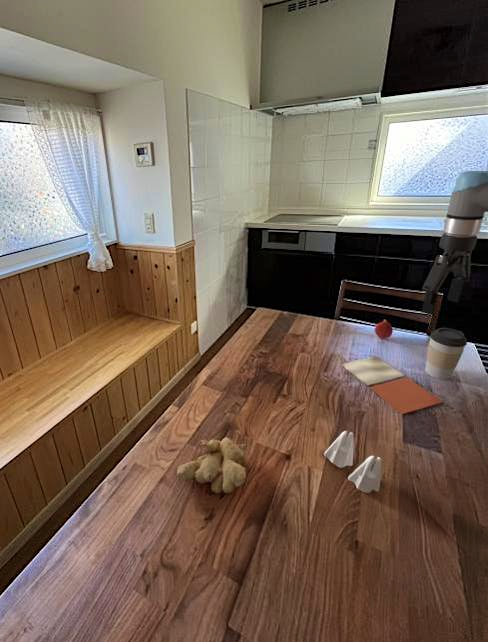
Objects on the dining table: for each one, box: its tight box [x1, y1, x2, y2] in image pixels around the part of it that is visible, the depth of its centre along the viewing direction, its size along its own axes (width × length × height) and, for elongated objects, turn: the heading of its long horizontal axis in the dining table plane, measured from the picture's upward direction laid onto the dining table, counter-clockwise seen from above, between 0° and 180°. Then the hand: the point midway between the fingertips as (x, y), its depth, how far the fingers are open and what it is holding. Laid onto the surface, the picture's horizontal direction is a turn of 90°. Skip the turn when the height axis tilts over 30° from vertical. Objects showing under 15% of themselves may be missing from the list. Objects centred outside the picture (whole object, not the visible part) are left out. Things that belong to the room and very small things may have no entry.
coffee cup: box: [424, 327, 468, 381], centre depth 104 cm, size 9×9×15 cm
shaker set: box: [323, 430, 383, 494], centre depth 74 cm, size 12×4×11 cm, turn 30°
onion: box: [374, 319, 394, 340], centre depth 126 cm, size 6×6×8 cm
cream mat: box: [341, 355, 406, 387], centre depth 110 cm, size 12×14×1 cm
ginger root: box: [176, 437, 248, 494], centre depth 78 cm, size 16×16×8 cm
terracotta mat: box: [369, 377, 444, 415], centre depth 99 cm, size 12×14×1 cm
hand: (440, 306), depth 97 cm, fingers open, 13 cm apart
